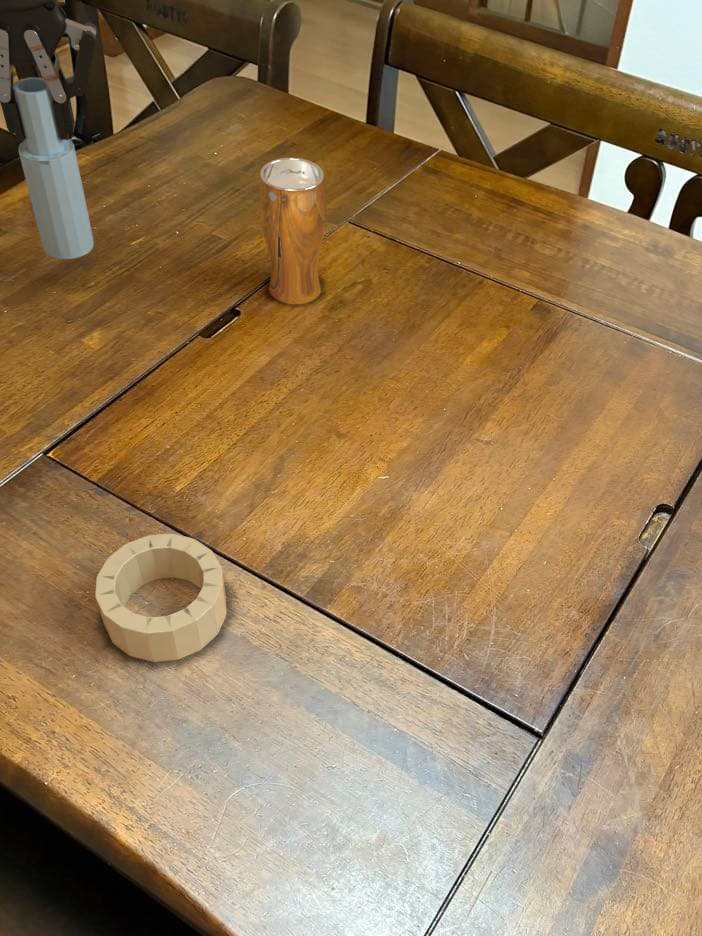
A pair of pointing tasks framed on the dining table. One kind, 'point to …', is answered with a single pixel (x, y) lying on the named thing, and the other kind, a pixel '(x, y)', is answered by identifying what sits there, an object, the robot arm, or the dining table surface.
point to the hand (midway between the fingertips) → (43, 135)
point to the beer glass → (293, 226)
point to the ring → (148, 564)
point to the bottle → (51, 174)
